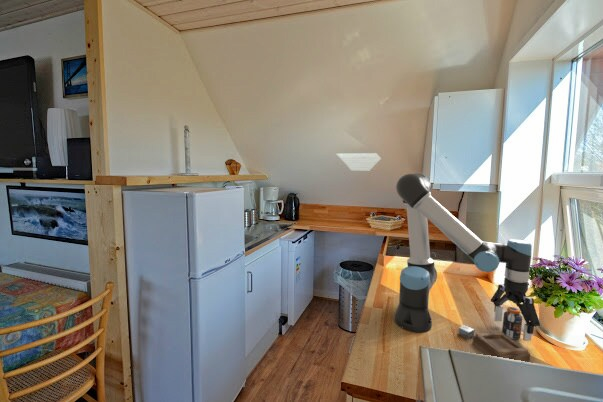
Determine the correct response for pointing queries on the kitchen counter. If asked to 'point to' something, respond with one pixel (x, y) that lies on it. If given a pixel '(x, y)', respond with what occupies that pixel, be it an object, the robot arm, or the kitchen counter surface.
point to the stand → (500, 346)
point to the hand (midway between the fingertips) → (511, 330)
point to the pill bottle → (512, 323)
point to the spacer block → (466, 331)
